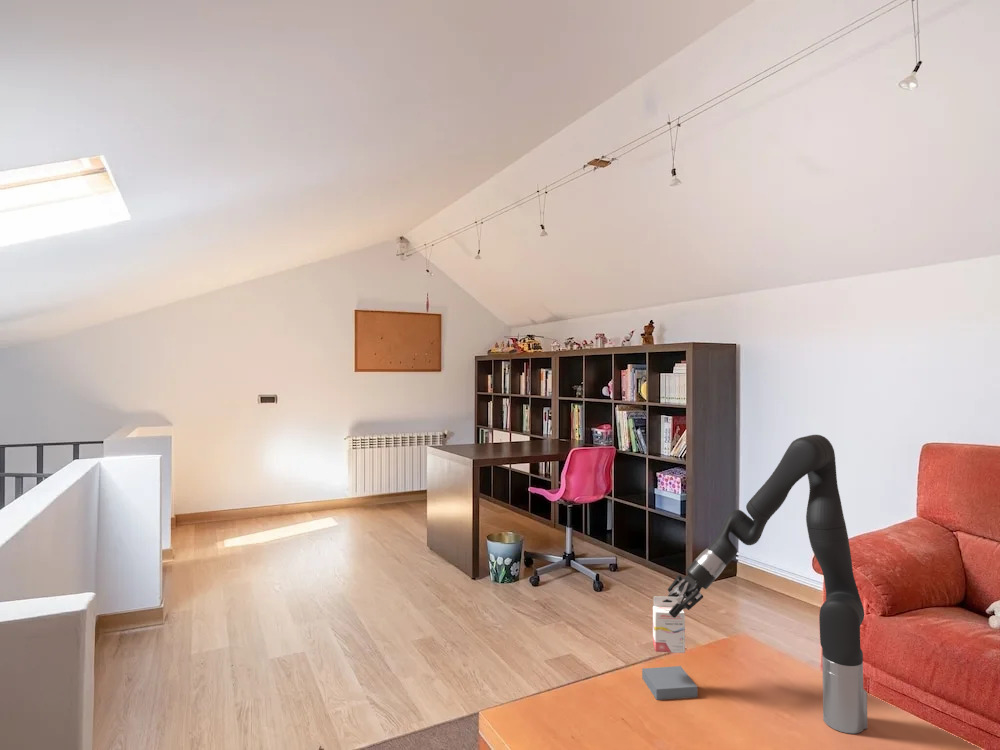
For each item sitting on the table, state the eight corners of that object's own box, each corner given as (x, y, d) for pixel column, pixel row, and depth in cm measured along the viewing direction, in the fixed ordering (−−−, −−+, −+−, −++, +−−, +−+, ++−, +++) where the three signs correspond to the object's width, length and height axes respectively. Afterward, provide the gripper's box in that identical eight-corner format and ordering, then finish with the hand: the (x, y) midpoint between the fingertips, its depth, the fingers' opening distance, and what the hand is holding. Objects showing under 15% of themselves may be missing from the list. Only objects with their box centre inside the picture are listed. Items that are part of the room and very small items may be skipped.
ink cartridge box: (655, 652, 174) (654, 601, 174) (652, 644, 179) (651, 595, 179) (685, 653, 173) (684, 602, 173) (682, 645, 178) (681, 596, 178)
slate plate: (680, 675, 182) (680, 666, 182) (697, 697, 170) (697, 686, 170) (642, 678, 181) (642, 668, 181) (656, 700, 169) (656, 689, 169)
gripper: (687, 552, 184) (649, 593, 182) (708, 567, 169) (667, 612, 168) (704, 568, 184) (666, 609, 183) (726, 585, 170) (686, 630, 169)
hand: (667, 610), depth 176 cm, fingers closed on ink cartridge box, 5 cm apart
